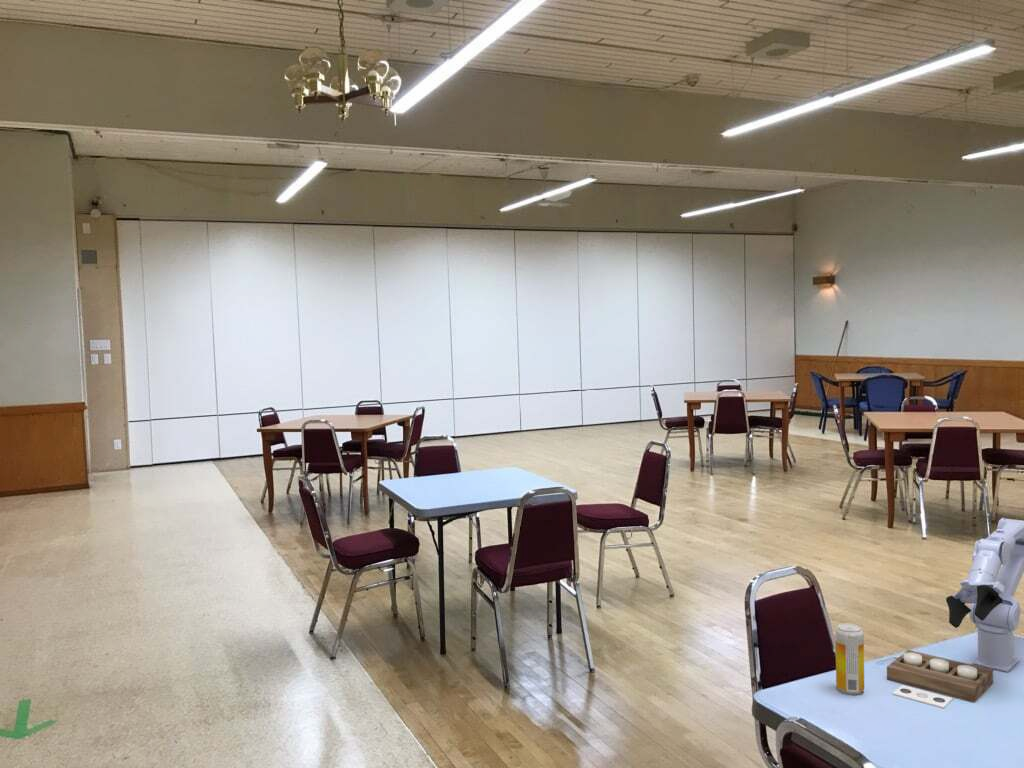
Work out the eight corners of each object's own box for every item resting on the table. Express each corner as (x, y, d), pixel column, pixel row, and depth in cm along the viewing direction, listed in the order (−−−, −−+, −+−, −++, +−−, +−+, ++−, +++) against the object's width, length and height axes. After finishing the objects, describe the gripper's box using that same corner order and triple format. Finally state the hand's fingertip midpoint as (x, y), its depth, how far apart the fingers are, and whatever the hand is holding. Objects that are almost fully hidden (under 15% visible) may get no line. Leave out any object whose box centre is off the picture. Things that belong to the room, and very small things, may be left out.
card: (902, 686, 190) (902, 684, 190) (952, 699, 182) (952, 697, 182) (892, 694, 186) (892, 692, 186) (943, 708, 178) (943, 706, 178)
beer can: (859, 684, 191) (858, 622, 191) (868, 695, 185) (867, 631, 185) (833, 684, 192) (832, 622, 191) (840, 695, 186) (839, 631, 185)
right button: (960, 674, 190) (960, 663, 190) (979, 678, 188) (979, 668, 187) (955, 679, 188) (954, 668, 188) (974, 684, 185) (974, 673, 185)
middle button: (933, 667, 195) (933, 657, 195) (951, 671, 192) (951, 661, 192) (927, 672, 192) (927, 662, 192) (945, 677, 189) (945, 666, 189)
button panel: (908, 662, 204) (908, 649, 204) (993, 682, 190) (993, 669, 190) (887, 679, 194) (886, 666, 194) (974, 702, 180) (974, 688, 180)
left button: (907, 661, 199) (907, 651, 199) (924, 665, 196) (924, 655, 196) (901, 665, 196) (901, 655, 196) (918, 670, 193) (918, 660, 193)
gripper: (945, 575, 200) (929, 616, 192) (992, 558, 188) (976, 601, 180) (968, 594, 199) (952, 636, 191) (1016, 579, 187) (1002, 623, 179)
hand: (966, 621), depth 186 cm, fingers open, 7 cm apart
